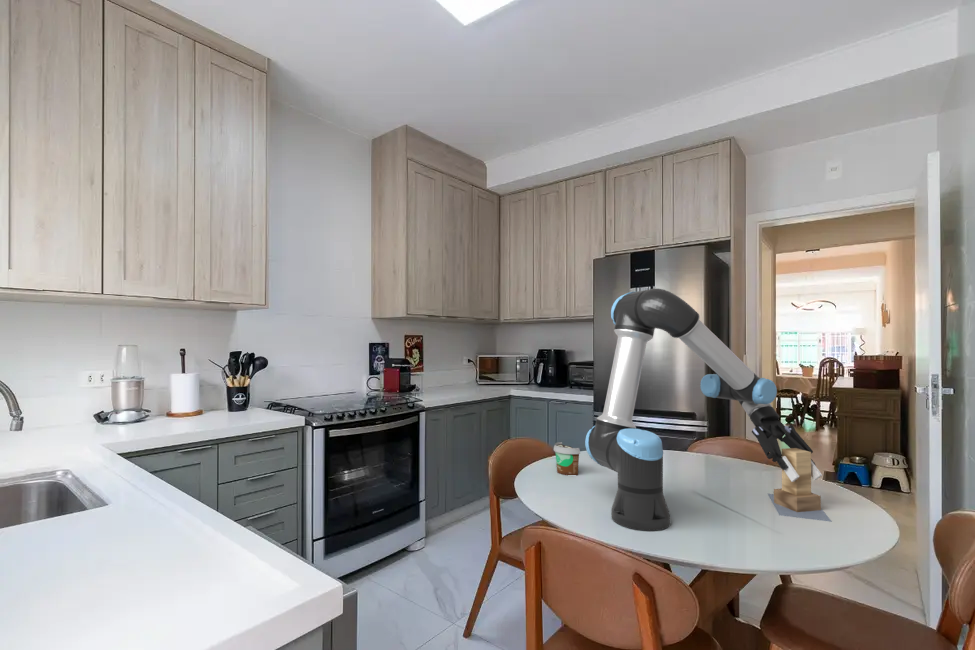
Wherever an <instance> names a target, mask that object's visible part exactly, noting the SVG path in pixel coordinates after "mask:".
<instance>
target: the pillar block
mask: <svg viewBox="0 0 975 650" xmlns="http://www.w3.org/2000/svg"><path fill="white" fill-rule="evenodd" d="M781 454H782V456H781V457H783V456H786V458H787V459H788V461H789V462H790V464H791V465H792V466H793V468H794V469H795V471H796V472H797V474H798V475H799V478H797V479H796V480H795V481H794V482H791V480H790V479H789V477H788V476H787V474H786V473H785V471H784V470H782V469H781V488H782V490H784V491H786V492H789V493H791V494H794V495H811V493H812V476H811V459H812V454H811V452H809V451H805V450H801V449H797V448H790V447H788V448H781Z"/></svg>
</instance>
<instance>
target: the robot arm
mask: <svg viewBox="0 0 975 650" xmlns="http://www.w3.org/2000/svg"><path fill="white" fill-rule="evenodd" d="M610 317H611V320H612V321H613V325H614V329H613V332H614V333H615V335H616V336H617V340H616V346H615V350H614V355H613V362H612V364H611V365H612V366H611V372H610V375H609V381H608V386H607V391H606V397H605V402H604V406H603V411H602V414H601V415H599V416H597V417H596V419H595V420H596V421H595V425H594V426H592V427H591V428H590V429H589V430H588V431H587V433H586V436H585V439H584V440H585V443H584V445H585V450H586V453H587V454H588V456H589V458H590V459H592V460H593V462H595V463H597V464H598V465H599V466H601V467H604V468H608V469H609V470H611V471H614V472H616V473H617V490H616V494H615V495H614V500H613V503H612V507H611V510H610V512H611V519H612V520H613V522H615V523H616V524H618V525H620V526H621V527H625V528H628V529H633V530H637V531H638V530H640V531H647V532H648V531H652V532H653V531H660V530H661V531H662V530H666V529H667V528H668V527H670V525H671V514H670V510H669V508H668V504H667V501H666V499H665V498H666V497H665V496H664V482H663V481H664V478H663V477H664V474H663V473H664V450H663V442H662V439H661V437H660V436H659V435H658V434H656V433H655V432H652V431H649V430H645V429H640V428H637V426H636V425H635V424H634V422H633V417H634V411H635V407H636V402H637V397H638V391H639V384H640V379H641V375H642V370H643V369H642V368H643V364H644V357H645V353H646V347H647V344H648V342H649V341H651V340H652V339H654V334H655V329H658V330H660V331H664V332H666V333H667V334H668V335H670V337H671V338H672V339H673V338H674V339H679V340H680V341H681V342H683V344H684V345H686V347H688V348H689V349H690V350H691V351H692V352H693V353H694V354H695V355H696V356H697V357H698V358H699V359H701V360H702V362H704V363H705V364H706V365H707V366H708V367H709V368H710V369H711V370H712V371H714V373H713V374H712V373H708V374H705V375H703V377H702V378H701V380H700V391H701V393H702V394H703V395H704V396H705V397H708V398H712V399H716V398H717V399H723V400H724V399H725V400H730V401H731V400H732V401H737V402H738V403H739V404H740V406H741V407H742V409H743V410H744V411H745V414H746V415H747V416H748V417H749V420H750V421H751V422H752V424H753V426H754V428H753V429H752V431H751V433H752V434H753V436H754V437H756V440H757V442H758V443H759V445H760V447H761V448H762V451H763V453H764V454H765V456H766V458H767V459H768V460H771V461H772V462H773V463H777V464H778V466H779V468H780V469H781V471H782V470H784V471H785V473H786V474H787V476H788V477H789V479H790V480H791V482H794V481H795V480H796V479H797V478H799V475H798V474H797V472H796V471H795V469H794V468H793V466H792V465H791V464H790V462H789V461H788V459H787V458H786V456H783V457H782V449H781V447H780V444H779V441H780V442H781V443H784V444H785V445H786V446H787V447H788V448H797V449H801V450H805V451H809V452H811V455H812V454H813V453H814V451H813V449H812V448H811V447H810V446H809V445H808V443H807V442H806V441H805V440H804V439H803V438H802V436H801V435H800V434H799V433H798V432H797V431H796V429H795V427H794V425H792V424H789V425H788V426H787V425H785V424H783V423H782V422H781V421H780V415H779V414H778V413H777V410H776V409H775V408H774V407H773V405H772V404H771V403H773V402H774V401H775V399H776V398H777V393H778V389H777V386H776V384H775V382H774V381H773V380H771V379H768V378H765V377H759V376H758V374H756V373H755V372H754V371H753V370H751V368H750V367H748V366H747V364H746V363H744V361H743V360H741V359H740V358H739V357H738V356H737V355H736V354H735V353H734V352H733V351H732V350H731V349H730V348H729V347H728V346H727V345H726V344H725V343H724V342H723V341H722V340H721V339H720V338H718V336H717V335H715V333H713V332H712V331H711V330H710V329H709V328H708V326H706V325H705V324H704V323H703V322H702V321H701V320H700V314H699V313H698V311H696V310H695V309H694V308H693V306H691V305H690V304H689V303H687V302H686V301H685V300H683V299H682V298H681V297H679V296H678V295H676V294H675V293H673V292H671V291H669V290H666V289H664V288H663V289H662V288H650V289H644V290H640V291H629V292H626V293H624V294H622V295H620V296H619V297H617V298H616V300H614V302H613V304H612V305H611V310H610ZM778 440H779V441H778ZM822 476H823V474H822V473H821V471H820V470H819V468H818V467H817V465H816V463H815V462H814V460H813V459H812V458H811V479H813V481H817V480H818V479H819V478H820V477H822Z"/></svg>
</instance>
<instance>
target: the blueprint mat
mask: <svg viewBox="0 0 975 650" xmlns="http://www.w3.org/2000/svg"><path fill="white" fill-rule="evenodd" d="M767 496H768V497H769V499H770V501H771V503H772V505H773V507H774V508H775V510H776V512H777V514H778V516H782V517H791V518H796V519H797V518H799V519H806V520H813V521H814V520H816V521H823V522H829V523H830V522H833V520H831V518H830V517H829V516H828V515H827V513H825V511H824V509H822V508H821V510H817V511H806V512H795V511H793V510H790V509H788V508H786V507H783V506H781V505H778V504H776V503H774V493H767Z"/></svg>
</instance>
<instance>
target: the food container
mask: <svg viewBox="0 0 975 650" xmlns="http://www.w3.org/2000/svg"><path fill="white" fill-rule="evenodd" d="M553 451H554V452H555V453H554V454H555V464H556V472H557V474H559V475H562V476H568V475H576V476H578V475H579V460H580V454H581V450H580V447H572V446H570V445H564V444H563V442H562V441H560V442H559V441H558V442H556V443H554V446H553Z"/></svg>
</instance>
